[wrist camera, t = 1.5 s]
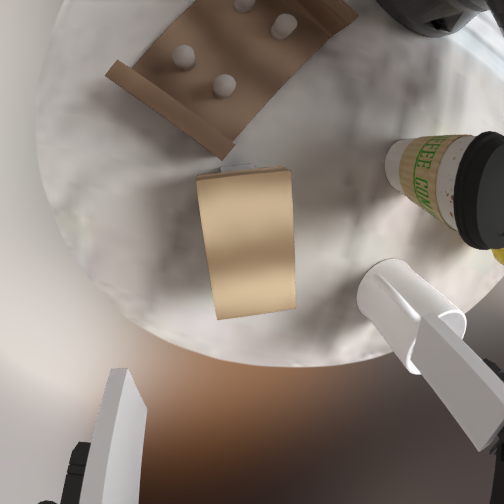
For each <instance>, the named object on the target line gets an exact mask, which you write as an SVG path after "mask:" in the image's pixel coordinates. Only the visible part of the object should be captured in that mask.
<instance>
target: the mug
mask: <svg viewBox="0 0 504 504" xmlns="http://www.w3.org/2000/svg"><path fill="white" fill-rule="evenodd" d="M356 299H357V305H358V308H359V310H360V311H361V313H362V314H363V315H365V316H366V317H368V319H369V320H370V321H371V322H372V323H373V325H374V326H375V327H376V329H377V330H378V331H379V333H380V334H381V335H382V336H383V338H384V339H385V340H386V342H387V343H388V344H389V346H390V347H391V348H392V350H393V351H394V352H395V353H396V355H397V356H398V358H399V359H400V360H401V361H402V363H403V364H404V366H405V367H406V368H407V370H409V372H411V373H413V374H421V373H420V372H419V370H418V369H417V368H416V367H415V365H414V364H413V363H412V361H411V360H410V359H411V355H412V352H413V348H414V345H415V341H416V337H417V333H418V329H419V325H420V321H421V317H422V316H424V315H428V314H431V313H434V314H435V315H436V316H438V317H439V318H440V319H441V320H442V321H443V322H444V323H445V324H446V325H447V326H448V327H449V328H450V329H451V330H452V331H453V332H454V333H455V334H456V335H457V336H458V337H460V338H461V339H462V338H463V336H464V333H465V330H466V317H465V315H464V314H463V312H462V311H460V310H459V309H458V308H457V307H456V306H455V305H454V304H452V303H451V302H450V301H449V300H448V299H447V298H445V297H444V296H443V295H442V294H441V293H439V292H438V291H437V290H436V289H435V288H433V287H432V286H431V285H430V284H429V283H427V282H426V281H425V280H424V279H422V278H421V277H420V276H419V275H417V274H416V273H415V272H414V271H413V270H412V269H411V268H410V267H409V265H408V264H407V263H405V262H404V261H402V260H399V259H387V260H384V261H382V262H380V263H378V264H376V265H375V266H373V267H372V268H371V269H370V270H369V271H368V272H367V273H366V274H365V276H364V277H363V279H362V280H361V282H360V284H359V287H358V290H357V297H356Z"/></svg>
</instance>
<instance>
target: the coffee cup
mask: <svg viewBox="0 0 504 504" xmlns="http://www.w3.org/2000/svg"><path fill="white" fill-rule="evenodd" d="M385 173H386V177H387V179H388V181H389V183H390V184H391V186H392V187H393V188H395V189H396V190H398V191H399V192H401V193H402V194H404V195H406V196H407V197H408V198H409V199H410V200H411V201H412V202H414V203H415V204H417V205H418V206H420V207H421V208H423V209H424V210H426V211H427V212H428V213H430V214H431V215H433V216H434V217H436V218H437V219H438V220H440V221H441V222H443V223H444V224H445V225H447V226H448V227H449V228H451V229H453V230H455V231H458V232H459V234H460V236H461V237H462V239H463V240H464V242H465V243H467V244H468V245H469V246H471V247H473V248H476V249H479V250H488V249H501V248H504V136H503V135H501V134H499V133H497V132H491V131H488V132H484V133H481V134H480V135H478V136H472V135H444V136H427V137H420V138H414V139H402V140H399V141H397V142H395V143H394V144H393V145H392V146H391V147H390V149H389V151H388V153H387V155H386V158H385Z"/></svg>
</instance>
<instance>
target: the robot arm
mask: <svg viewBox="0 0 504 504" xmlns="http://www.w3.org/2000/svg"><path fill="white" fill-rule="evenodd" d="M377 1H378V2H379V3H380V5H381V6H382V7H383V8H384V9H385V10H386V11H387V12H388V13H389V14H390V15H391V16H392V17H394V18H395V19H396V20H397V21H399V22H400V23H401V24H403V25H404V26H406V27H407V28H409V29H411V30H412V31H414V32H417V33H419V34H422V35H425V36H429V37H442V36H446V35H450V34H453V33H456V32H457V31H459V30H460V29H461V28H463V27H464V26H465V25H466V24H467V23H468V22H469V21H471V20H472V19H473V18H474V17H475V16H476V15H477V14H479V13H480V12H483V11H487V10H490V11H491V13H492V14H493V16H494V18H495V20H496V22H497V24H498V26H499V28H500V30H501V32H502V34H503V36H504V0H377ZM410 360H411V361H412V363H413V364H414V365H415V367H416V368H417V369H418V370H419V372H420V373H421V374H422V375H423V377H424V378H425V379H426V381H427V382H428V383H429V384H430V386H431V387H432V388H433V390H434V391H435V392H436V394H437V395H438V396H439V398H440V399H441V400H442V401H443V403H444V404H445V405H446V407H447V408H448V410H449V411H450V412H451V414H452V415H453V416H454V418H455V419H456V420H457V422H458V423H459V424H460V426H461V427H462V429H463V430H464V431H465V433H466V434H467V436H468V437H469V439H470V440H471V441H472V443H473V444H474V446H475V447H476V448H477V450H478V451H480V450H482V449H484V448H485V447H486V446H488V445H489V444H491V442H492V441H493V440H494V439H495V438H496V436H498V437H499V438H500V439H499V440H498V441H497V443H496V444H495V445H494V446H493V447H492V449H491V450H490V453H489V454H492V453H493V452H494V450H495V449H496V448H497V450H496V452H495V453H494V454H495V455H496V464H495V473H494V481H493V487H492V494H491V499H490V504H504V373H503V372H501V369H500V368H499V367H498V366H497V365H496V364H495V363H493V362H491V361H489V360H488V359H486V358H485V359H483V360H481V358H480V357H479V356H477V354H476V353H475V352H474V351H473V350H472V349H470V348H469V346H468V345H467V344H466V343H465V342H464V341H463V340H462V339H461V338H460V337H458V336H457V335H456V334H455V333H454V332H453V331H452V330H451V329H450V328H449V327H448V326H447V325H446V324H445V323H444V322H443V321H442V320H441V319H440V318H439V317H438V316H436V315H435V314H434V313H431V314H428V315H424V316H422V317H421V321H420V325H419V329H418V333H417V337H416V341H415V345H414V348H413V352H412V355H411V359H410ZM146 415H147V408H146V406H145V404H144V402H143V400H142V398H141V396H140V394H139V392H138V390H137V388H136V385H135V383H134V381H133V379H132V377H131V374H130V372H129V370H128V368H118V369H111V371H110V375H109V378H108V381H107V385H106V388H105V392H104V395H103V399H102V403H101V406H100V410H99V413H98V418H97V421H96V425H95V429H94V433H93V437H92V441H91V443H88V442H79V443H78V444H77V445H76V447H75V449H74V450H73V451H72V454H71V458H70V462H69V464H70V465H69V466H68V470H67V475H66V479H65V484H64V488H63V493H62V499H61V503H60V504H138V499H139V485H140V471H141V460H142V449H143V440H144V431H145V423H146ZM38 504H56V503H55V502H53V501H43V502H40V503H38Z"/></svg>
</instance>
